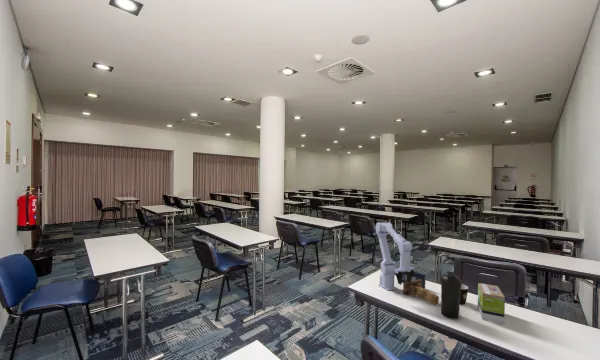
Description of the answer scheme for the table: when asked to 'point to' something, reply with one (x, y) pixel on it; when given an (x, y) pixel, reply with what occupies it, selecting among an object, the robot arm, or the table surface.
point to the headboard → (411, 287)
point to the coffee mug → (463, 294)
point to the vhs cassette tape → (415, 278)
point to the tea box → (491, 303)
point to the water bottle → (450, 295)
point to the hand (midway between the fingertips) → (404, 283)
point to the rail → (426, 295)
